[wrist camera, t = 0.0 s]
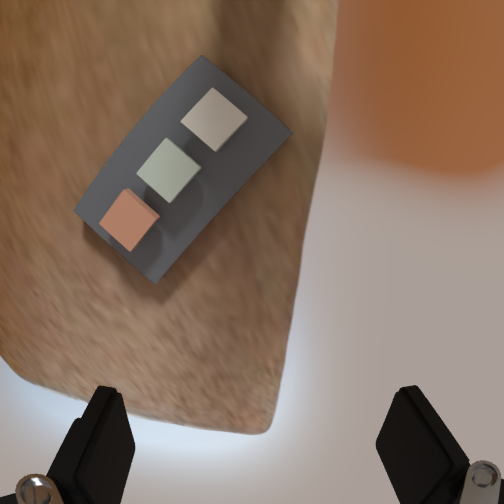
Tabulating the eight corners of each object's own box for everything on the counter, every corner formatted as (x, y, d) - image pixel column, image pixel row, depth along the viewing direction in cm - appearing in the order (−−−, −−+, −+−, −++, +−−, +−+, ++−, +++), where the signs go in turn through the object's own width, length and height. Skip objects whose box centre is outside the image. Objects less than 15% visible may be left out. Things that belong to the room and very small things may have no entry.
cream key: (213, 91, 31) (212, 87, 29) (247, 119, 32) (247, 116, 30) (183, 123, 31) (180, 121, 30) (216, 152, 32) (214, 151, 31)
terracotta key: (128, 188, 33) (123, 189, 31) (160, 216, 34) (156, 219, 32) (105, 220, 34) (98, 223, 32) (135, 247, 35) (130, 252, 33)
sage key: (169, 139, 32) (165, 137, 30) (201, 167, 33) (200, 167, 31) (141, 172, 32) (136, 173, 31) (172, 201, 34) (169, 203, 32)
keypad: (204, 62, 33) (201, 54, 31) (288, 135, 36) (293, 132, 34) (83, 207, 37) (73, 210, 35) (160, 276, 40) (155, 284, 38)
